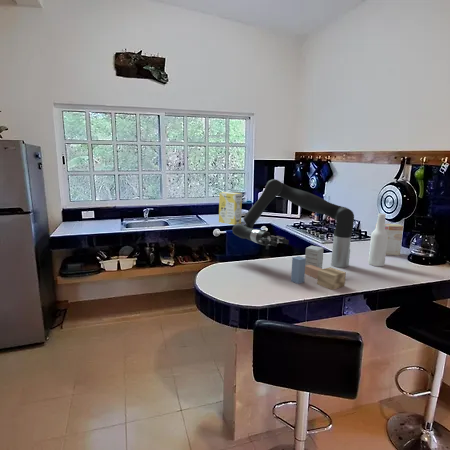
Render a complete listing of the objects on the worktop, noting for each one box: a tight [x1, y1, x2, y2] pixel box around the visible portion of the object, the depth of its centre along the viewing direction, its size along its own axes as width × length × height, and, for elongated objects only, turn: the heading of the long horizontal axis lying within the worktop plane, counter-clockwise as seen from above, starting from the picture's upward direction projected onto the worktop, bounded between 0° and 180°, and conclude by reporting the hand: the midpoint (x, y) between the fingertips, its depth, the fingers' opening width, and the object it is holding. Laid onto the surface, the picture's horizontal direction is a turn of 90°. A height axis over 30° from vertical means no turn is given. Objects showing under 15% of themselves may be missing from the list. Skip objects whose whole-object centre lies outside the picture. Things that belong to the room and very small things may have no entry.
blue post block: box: [290, 255, 306, 285], centre depth 162 cm, size 4×4×12 cm
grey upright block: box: [304, 245, 324, 269], centre depth 180 cm, size 7×7×13 cm
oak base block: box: [316, 267, 347, 291], centre depth 159 cm, size 9×9×7 cm
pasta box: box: [218, 191, 243, 226], centre depth 310 cm, size 18×10×28 cm, turn 53°
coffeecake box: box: [374, 223, 404, 257], centre depth 217 cm, size 15×7×20 cm, turn 84°
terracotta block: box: [305, 265, 321, 280], centre depth 172 cm, size 10×4×4 cm, turn 33°
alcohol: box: [367, 212, 388, 268], centre depth 192 cm, size 9×9×30 cm
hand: (282, 243), depth 169 cm, fingers open, 8 cm apart
